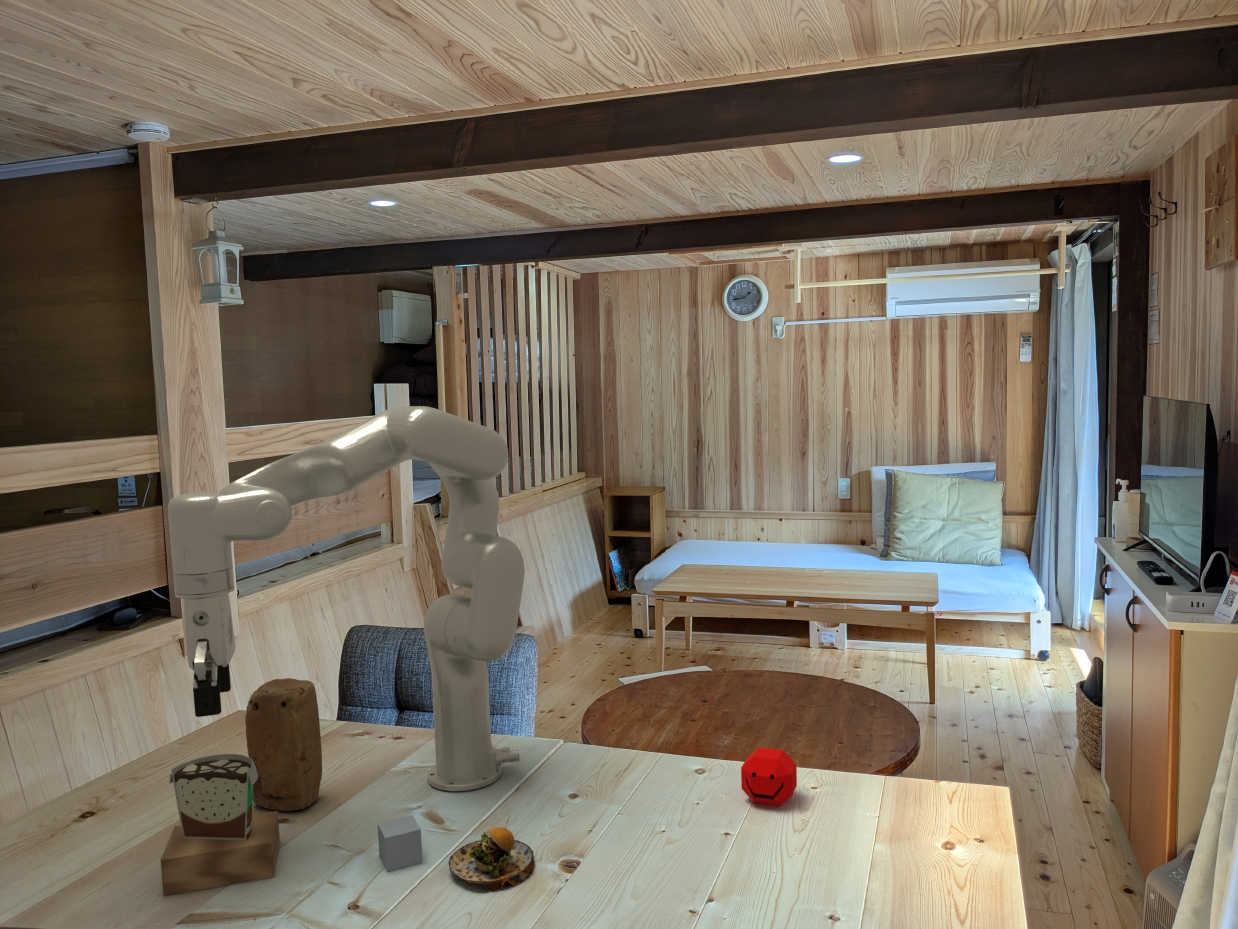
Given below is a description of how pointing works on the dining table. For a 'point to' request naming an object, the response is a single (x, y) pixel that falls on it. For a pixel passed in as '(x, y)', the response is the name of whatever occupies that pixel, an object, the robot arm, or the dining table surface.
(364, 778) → the dining table surface
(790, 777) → the ball
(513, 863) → the burger
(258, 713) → the brown lumpy post
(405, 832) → the slate cube
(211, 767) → the food container
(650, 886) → the dining table surface
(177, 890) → the plinth
